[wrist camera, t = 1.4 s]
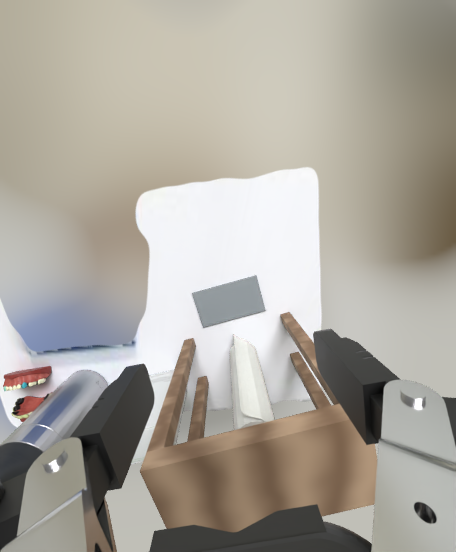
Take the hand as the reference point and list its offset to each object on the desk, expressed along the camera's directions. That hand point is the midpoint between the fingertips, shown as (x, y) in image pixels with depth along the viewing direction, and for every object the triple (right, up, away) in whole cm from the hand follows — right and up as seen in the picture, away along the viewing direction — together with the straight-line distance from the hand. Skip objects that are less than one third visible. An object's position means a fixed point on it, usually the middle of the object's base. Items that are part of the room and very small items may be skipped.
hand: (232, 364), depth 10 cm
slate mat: (0, -1, +37) cm, 37 cm away
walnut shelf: (+3, -13, +40) cm, 42 cm away
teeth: (-44, -21, +41) cm, 63 cm away
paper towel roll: (+3, -13, +40) cm, 42 cm away
